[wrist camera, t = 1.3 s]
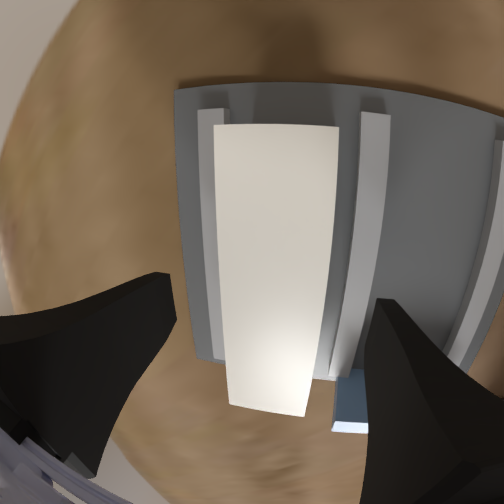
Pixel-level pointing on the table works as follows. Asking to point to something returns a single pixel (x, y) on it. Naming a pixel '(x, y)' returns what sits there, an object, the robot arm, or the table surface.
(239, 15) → the table surface
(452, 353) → the board
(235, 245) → the cream rectangular block
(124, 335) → the robot arm
